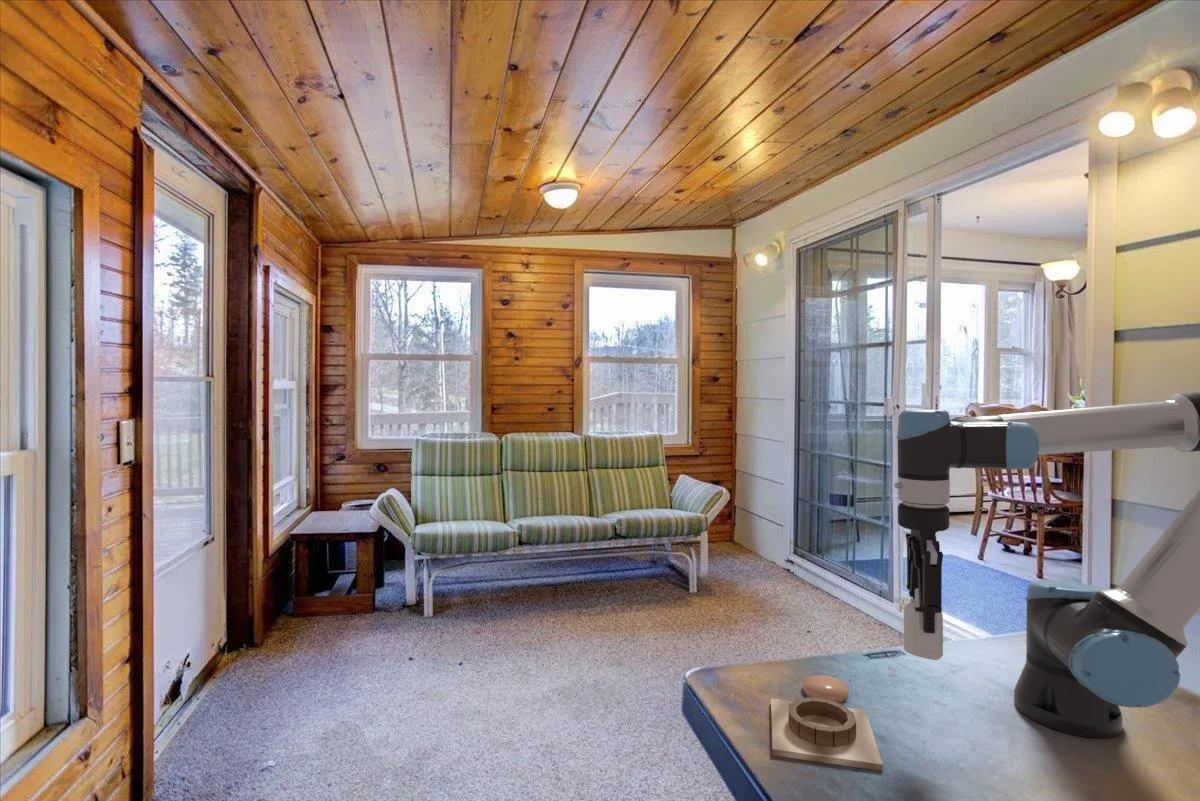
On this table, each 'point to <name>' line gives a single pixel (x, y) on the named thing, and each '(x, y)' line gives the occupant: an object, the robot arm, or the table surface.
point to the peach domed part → (825, 688)
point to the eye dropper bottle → (912, 631)
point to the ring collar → (823, 733)
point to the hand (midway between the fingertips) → (923, 643)
